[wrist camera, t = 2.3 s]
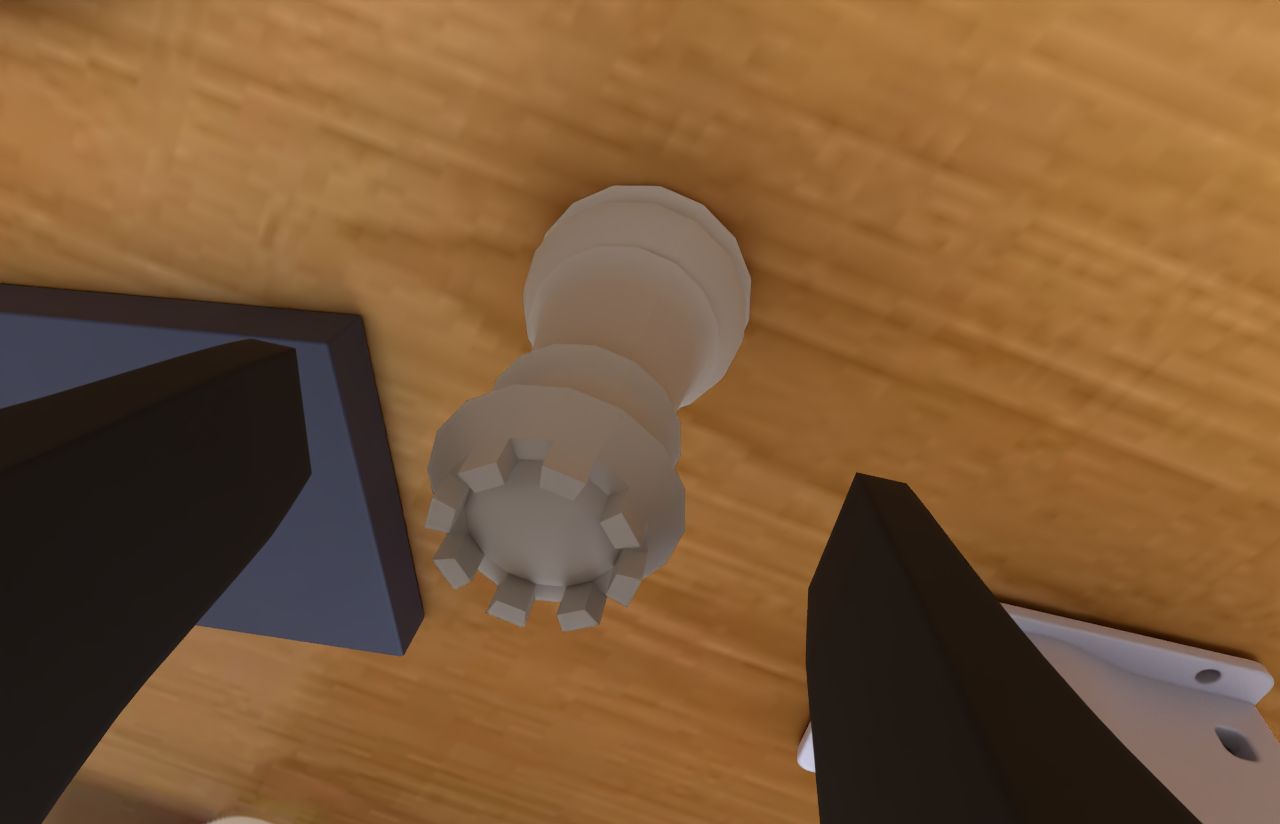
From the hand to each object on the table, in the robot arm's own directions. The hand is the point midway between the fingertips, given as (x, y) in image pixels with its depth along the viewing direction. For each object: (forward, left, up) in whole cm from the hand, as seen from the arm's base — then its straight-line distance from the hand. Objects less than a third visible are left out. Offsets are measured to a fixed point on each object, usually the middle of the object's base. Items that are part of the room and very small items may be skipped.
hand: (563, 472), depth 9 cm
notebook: (+12, +8, -7) cm, 16 cm away
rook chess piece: (0, 0, -7) cm, 7 cm away
